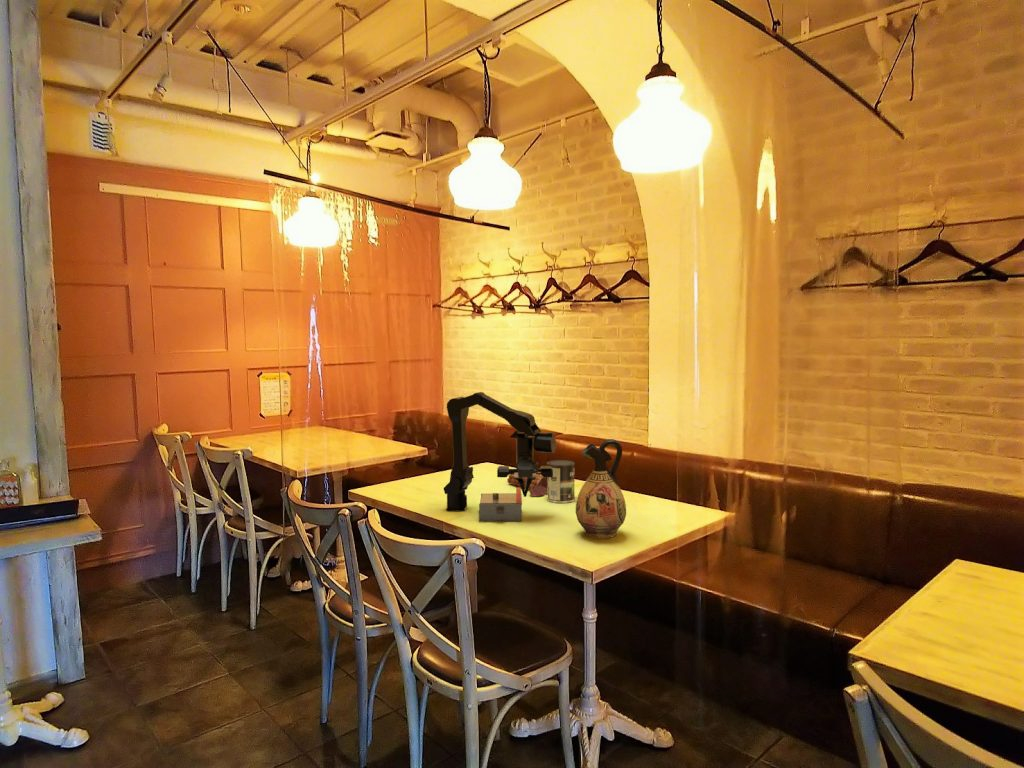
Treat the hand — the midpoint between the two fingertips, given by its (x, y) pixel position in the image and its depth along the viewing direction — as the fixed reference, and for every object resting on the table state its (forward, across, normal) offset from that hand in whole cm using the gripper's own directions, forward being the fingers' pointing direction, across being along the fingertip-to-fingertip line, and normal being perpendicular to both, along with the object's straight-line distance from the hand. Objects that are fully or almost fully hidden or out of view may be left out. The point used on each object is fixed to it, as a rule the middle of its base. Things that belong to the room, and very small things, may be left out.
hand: (524, 496), depth 218 cm
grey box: (+7, -8, 0) cm, 11 cm away
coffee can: (+7, +14, +21) cm, 26 cm away
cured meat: (+7, +5, +38) cm, 39 cm away
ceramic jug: (+7, +24, -21) cm, 32 cm away
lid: (+1, -8, 0) cm, 8 cm away
